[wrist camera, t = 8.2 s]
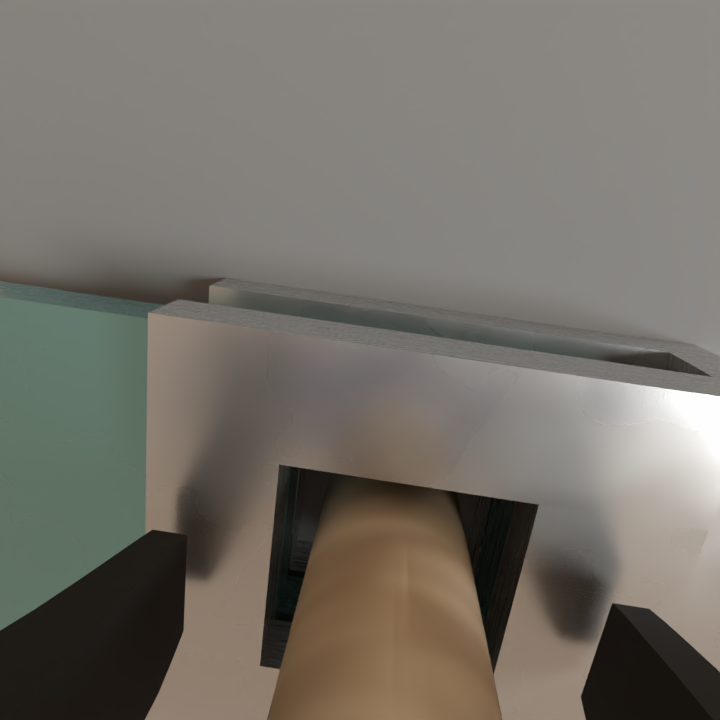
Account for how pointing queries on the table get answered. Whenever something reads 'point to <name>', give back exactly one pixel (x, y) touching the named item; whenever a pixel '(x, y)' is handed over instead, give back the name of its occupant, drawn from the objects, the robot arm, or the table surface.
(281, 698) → the maple pin
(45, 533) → the peg hole fixture
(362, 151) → the rubber mat
